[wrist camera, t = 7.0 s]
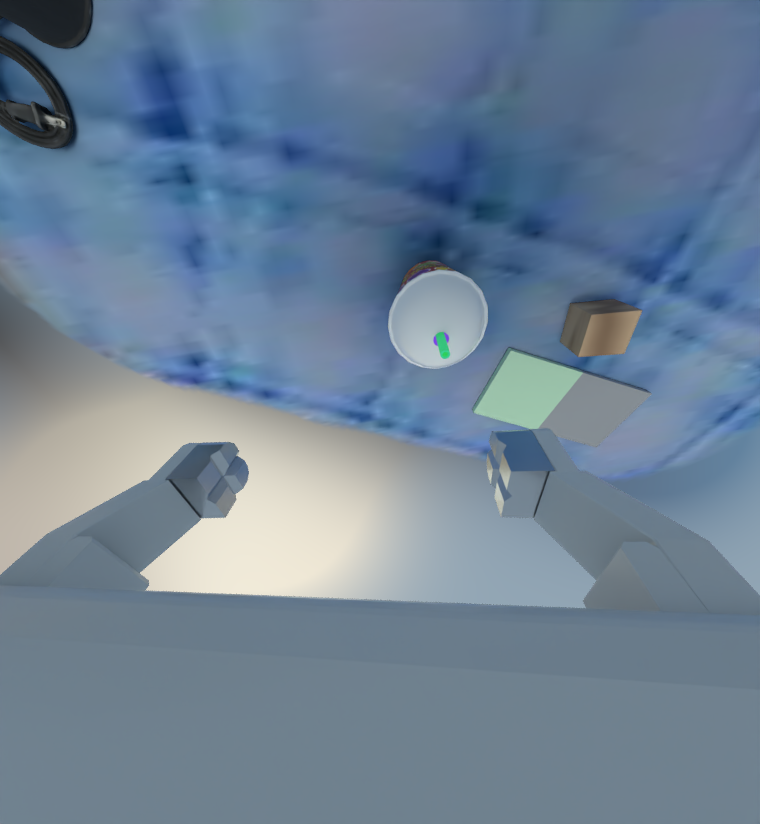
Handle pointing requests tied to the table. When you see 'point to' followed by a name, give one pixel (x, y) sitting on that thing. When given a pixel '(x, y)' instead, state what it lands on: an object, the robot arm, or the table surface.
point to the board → (557, 398)
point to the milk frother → (57, 26)
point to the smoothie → (437, 316)
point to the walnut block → (599, 327)
